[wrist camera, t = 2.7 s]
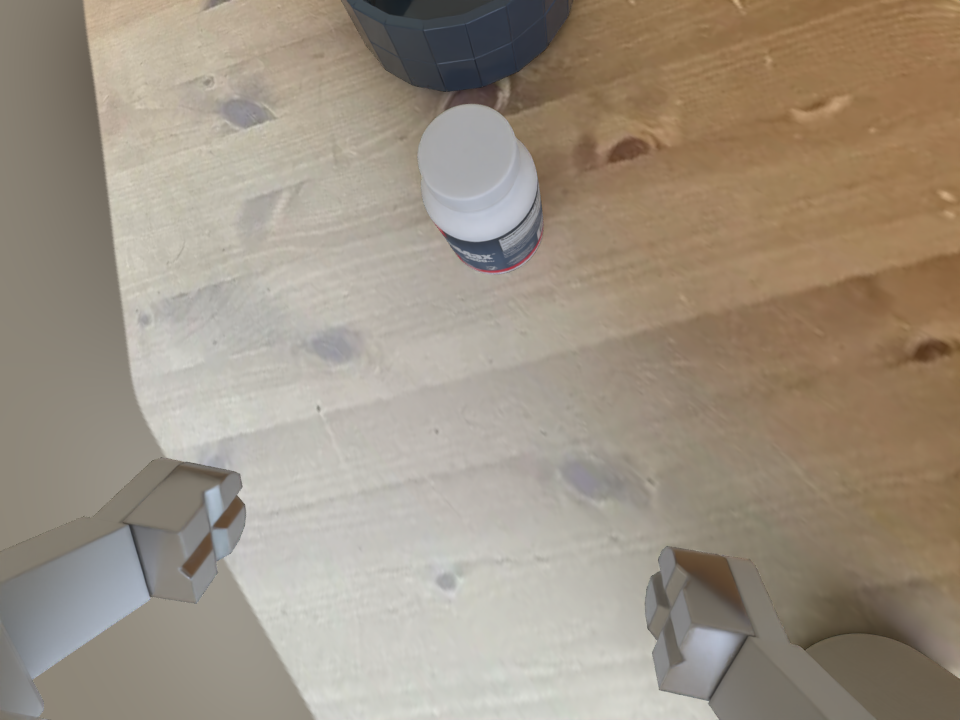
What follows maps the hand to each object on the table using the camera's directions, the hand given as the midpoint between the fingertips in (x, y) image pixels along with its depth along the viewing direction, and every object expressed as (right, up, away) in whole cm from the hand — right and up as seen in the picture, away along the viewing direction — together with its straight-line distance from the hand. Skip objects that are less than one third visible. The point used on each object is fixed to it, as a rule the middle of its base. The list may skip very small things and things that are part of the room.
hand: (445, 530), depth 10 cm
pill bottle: (+2, +10, +19) cm, 22 cm away
